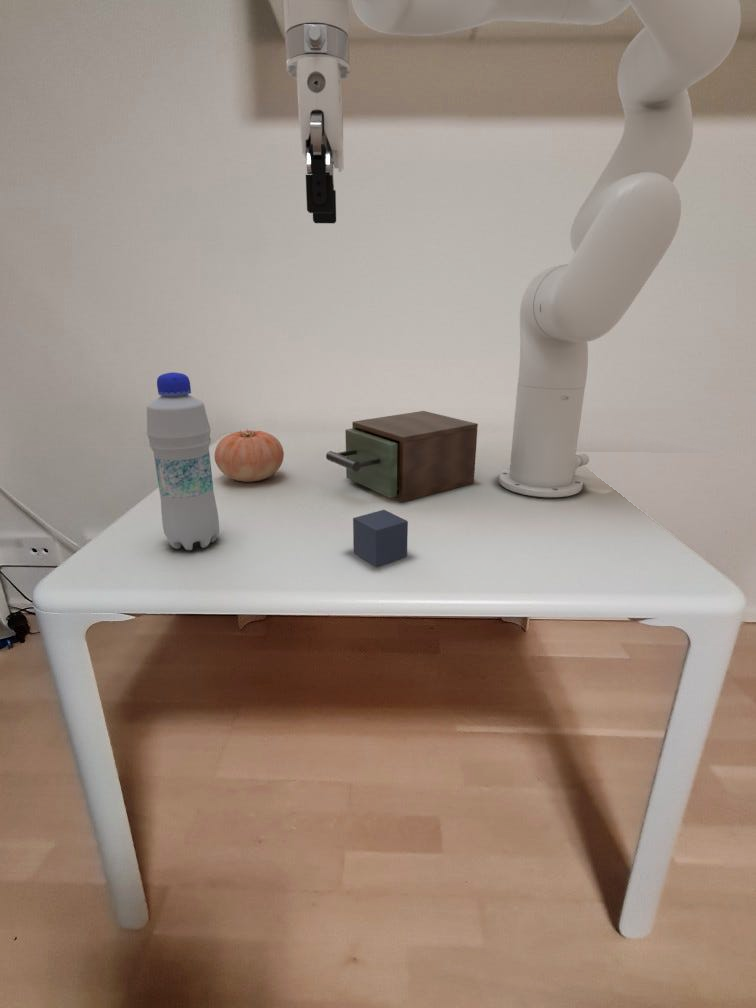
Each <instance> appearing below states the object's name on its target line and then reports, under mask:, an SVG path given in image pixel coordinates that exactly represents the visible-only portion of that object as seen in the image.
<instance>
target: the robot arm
mask: <svg viewBox="0 0 756 1008" xmlns="http://www.w3.org/2000/svg"><path fill="white" fill-rule="evenodd" d="M282 1H283V19H284V35H285V36H284V37H285V38H284V41H285V62H286V63H285V64H286V73H287V74H288V75H289V76H290V77H291V78H293V79H295V80H296V91H297V92H296V93H297V110H298V113H297V114H298V125H299V126H298V127H299V137H300V146H301V155H302V158H303V162H304V163H305V167H306V174H305V192H306V193H305V196H306V211H307V212H308V213H309V214H312V221H313V223H314V224H335V223H337V192H336V189H335V178H334V176H335V175H334V169H337V170H338V172H339V173H341V172H343V170H344V169H345V168H344V167H345V165H344V111H343V110H344V109H343V89H342V81H344V80H346V79H347V78H348V77H349V76H350V27H349V26H350V18H349V13H350V12H349V0H282ZM350 1H351V6H352V9H353V11H354V13H355V15H356V16H357V18H358V19H359V21H360V22H362V24H363V25H364V26H366V27H367V28H369V29H371V30H373V31H376V32H378V33H381V34H387V35H388V34H389V35H398V36H416V37H417V36H419V37H426V36H428V37H429V36H439V35H445V34H450V33H455V32H459V31H464V30H468V29H473V28H478V27H481V26H485V25H487V24H490V23H495V22H529V23H530V22H531V23H545V24H558V25H559V24H561V25H578V26H579V25H580V26H597V25H603V24H606V23H609V22H611V21H612V20H614V19H616V18H618V16H620V15H621V14H623V12H624V11H626V9H628V8H629V7H630V6H631V7H632V9H633V10H634V12H635V14H636V15H637V17H638V18H639V20H640V21H641V24H643V26H644V27H643V28H642V29H641V30H640V31H639V32H637V34H635V36H634V38H632V40H631V41H630V42H629V44H628V45H627V47H626V48H625V50H624V52H623V54H622V56H621V59H620V62H619V65H618V69H617V92H618V95H619V99H620V102H621V105H622V109H623V115H624V116H623V117H624V126H623V132H622V136H621V138H620V140H619V142H618V144H617V146H616V148H615V150H614V151H613V153H612V156H611V157H610V159H609V161H608V163H607V164H606V166H605V167H604V170H603V171H602V172H601V174H600V176H599V177H598V179H597V181H596V183H595V184H594V186H593V188H592V189H591V191H590V193H589V194H588V195H587V197H586V199H585V200H584V201H583V203H582V205H581V206H580V207H579V209H578V211H577V212H576V215H575V217H574V219H573V222H572V224H571V228H570V235H569V236H570V245H571V248H572V250H573V252H574V254H573V255H572V257H571V258H570V260H569V262H568V263H564V264H560V265H559V264H558V265H555V266H551V267H549V268H546V269H544V270H543V271H541V272H539V273H537V275H536V276H534V277H533V279H531V281H530V282H529V284H527V286H526V288H525V290H524V292H523V294H522V298H521V302H520V309H519V339H520V341H519V343H520V347H519V364H518V365H519V366H518V377H517V387H516V396H515V397H516V398H515V407H514V408H515V409H514V420H513V431H512V439H511V453H510V463H509V468H506V469H504V470H502V471H501V472H500V473H499V475H498V484H500V485H501V487H503V488H504V489H506V490H508V491H510V492H513V493H517V494H520V495H524V496H529V497H536V498H564V497H570V496H574V495H576V494H578V493H580V492H581V491H582V490H583V484H584V481H583V479H582V478H581V477H580V476H578V475H576V470H577V469H578V468H580V467H583V466H586V465H588V464H589V463H590V458H589V456H588V454H586V453H580V454H577V448H578V442H579V434H580V426H581V418H582V412H583V404H584V397H585V396H584V395H585V389H586V386H587V378H588V369H589V367H588V366H589V348H588V347H589V346H588V343H589V342H592V341H596V340H598V339H600V338H602V337H603V336H605V335H607V333H609V332H610V331H611V330H612V329H613V328H614V327H616V325H617V324H618V323H619V322H620V321H621V319H622V318H623V316H624V315H625V314H626V313H627V311H628V310H629V308H630V307H631V306H632V304H633V303H634V301H635V299H636V298H637V297H638V295H639V293H640V292H641V290H642V289H643V287H644V286H645V284H646V283H647V281H648V280H649V278H650V277H651V275H653V272H654V271H655V269H656V268H657V266H658V265H659V263H660V262H661V260H662V259H663V258H664V256H665V254H666V253H667V251H668V249H669V248H670V246H671V245H672V242H673V241H674V238H675V236H676V233H677V231H678V228H679V225H680V221H681V215H682V214H681V213H682V203H681V197H680V194H679V191H678V188H677V187H676V186H675V184H674V181H675V179H676V178H677V176H678V174H679V173H680V171H681V169H682V167H683V166H684V163H686V160H687V157H688V155H689V152H690V149H691V146H692V142H693V135H694V121H693V111H692V104H691V98H690V95H689V91H688V88H690V87H692V86H693V85H695V84H696V83H698V82H700V81H701V80H702V79H704V78H706V77H707V76H709V75H710V74H711V73H713V72H714V71H715V70H716V69H717V68H718V67H720V65H721V64H722V63H724V61H725V60H726V59H727V57H728V56H729V55H730V53H731V51H732V50H733V48H734V46H735V44H736V41H737V39H738V36H739V34H740V29H741V23H742V9H741V4H740V0H350Z"/></svg>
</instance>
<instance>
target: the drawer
mask: <svg viewBox="0 0 756 1008" xmlns="http://www.w3.org/2000/svg"><path fill="white" fill-rule="evenodd" d="M325 459H326V460H327V461H330V462H332V463H334V464H337V465H339V466H341V467H343V468H345V474H346V475H345V476H346V479H347V480H350V481H352V482H355V483H356V484H359V485H360V486H361V485H362V486H363V487H366V488H368V489H370V490H372V491H375V492H377V493H379V494H380V495H383V496H386V497H387V498H390V499H393V498H392V497H396V496H397V489H398V490H399V468H400V441H396V440H393V439H390V438H387V437H384V436H381V435H378V434H374V433H371V432H368V431H365V430H361V431H358V430H354V429H352V428H347V429H345V450H344V451H340V452H335V451H333V450H329V451H328V452H327V453H326V454H325Z"/></svg>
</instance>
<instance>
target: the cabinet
mask: <svg viewBox="0 0 756 1008" xmlns="http://www.w3.org/2000/svg"><path fill="white" fill-rule="evenodd" d="M351 423H352V425H351V426H352V428H351V429H354V430H358V431H361V430H365V431H368V432H371V433H374V434H378V435H381V436H384V437H387V438H390V439H393V440H396V441H400V468H399V490H398V489H397V496H396V497H392V498H391V499H393V500H395V501H398V502H400V503H405V502H409V501H413V500H418V499H421V498H425V497H428V496H429V497H430V496H432V495H436V494H440V493H443V492H446V491H451V490H454V489H458V488H462V487H466V486H470V485H473V484H475V473H476V471H475V470H476V457H477V441H478V426H479V424H478V423H477V422H472V421H468V420H464V419H460V418H457V417H456V418H455V417H451V416H446V415H444V414H443V415H442V414H438V413H434V412H430V411H427V410H420V411H413V412H407V413H400V414H393V415H387V416H380V417H374V418H367V419H360V420H355V421H352V422H351Z"/></svg>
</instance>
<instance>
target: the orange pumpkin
mask: <svg viewBox="0 0 756 1008" xmlns="http://www.w3.org/2000/svg"><path fill="white" fill-rule="evenodd" d="M214 450H215V451H214V455H213V456H214V458H213V459H214V462H215V464H216V466H217V468H218V470H219V471H220V472H221V473H222V474H223V475H225V476H226V477H228V478H229V479H232V480H234V481H239V482H245V483H254V482H259V481H263V480H265V479H269V478H270V477H272V476H273V475H274V474H276V473H277V472H278V471H279V470H280V468H281V467H282V464H283V462H284V457H285V456H284V455H285V452H284V448H283V445H282V444H281V442H280V440H279V439H278V438H277V437H276V436H275V435H273V434H270V433H268V432H266V431H262V430H248V429H246V430H242V431H241V429H240V430H239V431H235V432H231V433H229V434H227V435H225V436H224V437H222V438H221V439H220V440H219V441H218V443H217V445H216V447H215V449H214Z"/></svg>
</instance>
